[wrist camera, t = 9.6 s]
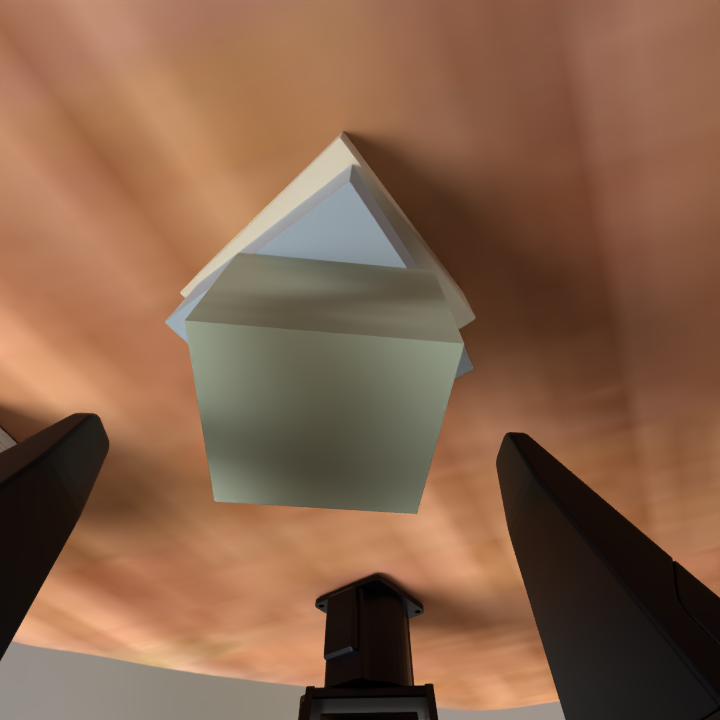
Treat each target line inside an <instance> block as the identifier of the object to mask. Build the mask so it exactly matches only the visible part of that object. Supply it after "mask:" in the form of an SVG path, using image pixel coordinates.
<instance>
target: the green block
mask: <svg viewBox="0 0 720 720" xmlns="http://www.w3.org/2000/svg"><path fill="white" fill-rule="evenodd" d="M184 321H185V327H186V333H187V339H188V345H189V351H190V357H191V363H192V369H193V375H194V381H195V387H196V393H197V399H198V405H199V411H200V417H201V423H202V429H203V435H204V441H205V447H206V453H207V459H208V465H209V471H210V477H211V483H212V489H213V496H214V502H229V503H245V504H262V505H278V506H295V507H311V508H328V509H344V510H361V511H378V512H394V513H411V514H417V512H418V508H419V505H420V501H421V497H422V494H423V490H424V487H425V483H426V480H427V476H428V472H429V469H430V465H431V462H432V458H433V454H434V451H435V447H436V444H437V440H438V436H439V433H440V429H441V426H442V422H443V419H444V415H445V411H446V408H447V404H448V401H449V397H450V393H451V390H452V386H453V383H454V379H455V375H456V372H457V368H458V365H459V361H460V357H461V354H462V350H463V347H464V342H463V339H462V337H461V334H460V332H459V330H458V327H457V325H456V322H455V320H454V318H453V315H452V313H451V311H450V308H449V306H448V303H447V301H446V299H445V296H444V294H443V291H442V289H441V287H440V284H439V282H438V279H437V277H436V275H435V272H434V271H433V270H422V269H411V268H400V267H389V266H378V265H367V264H357V263H346V262H335V261H324V260H313V259H302V258H291V257H280V256H270V255H259V254H248V253H237V254H236V255H235V257H234V258H233V259H232V260H231V262H230V263H229V264H228V265H227V267H226V268H225V269H224V271H223V272H222V273H221V274H220V276H219V277H218V278H217V280H216V281H215V282H214V283H213V285H212V286H211V287H210V288H209V290H208V291H207V292H206V294H205V295H204V296H203V297H202V299H201V300H200V301H199V303H198V304H197V305H196V306H195V308H194V309H193V310H192V311H191V313H190V314H189V315H188V317H187V318H186V319H185V320H184Z"/></svg>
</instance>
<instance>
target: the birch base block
mask: <svg viewBox="0 0 720 720" xmlns="http://www.w3.org/2000/svg"><path fill="white" fill-rule="evenodd" d="M351 164H352V165H353V166H354V168H355V170H356V171H357V173H358V174H359V176H360V177H361V179H362V180H363V182H364V184H365V185H366V187H367V188H368V190H369V191H370V193H371V194H372V196H373V197H374V199H375V201H376V202H377V204H378V205H379V207H380V208H381V210H382V211H383V213H384V215H385V216H386V218H387V219H388V221H389V222H390V224H391V225H392V227H393V229H394V230H395V232H396V233H397V235H398V236H399V238H400V239H401V241H402V243H403V244H404V246H405V247H406V249H407V250H408V252H409V253H410V255H411V257H412V258H413V260H414V261H415V263H416V264H417V266H418V267H419V269H422V270H433V271H434V272H435V275H436V277H437V279H438V282H439V284H440V287H441V289H442V291H443V294H444V296H445V299H446V301H447V303H448V306H449V308H450V311H451V313H452V315H453V318H454V320H455V322H456V325H457V327H458V330H459V329H460V328H462V327H464V326H465V325H467V324H468V323H470V322H471V321H473V320H474V319H476V317H475V315H474V313H473V311H472V309H471V307H470V305H469V303H468V301H467V299H466V297H465V295H464V293H463V291H462V290H461V289H460V287H459V286H458V285H457V283H456V282H455V281H454V279H453V278H452V277H451V275H450V274H449V273H448V271H447V270H446V269H445V267H444V266H443V265H442V263H441V262H440V261H439V259H438V258H437V257H436V255H435V254H434V253H433V251H432V250H431V248H430V247H429V246H428V244H427V243H426V242H425V240H424V239H423V238H422V236H421V235H420V234H419V232H418V231H417V230H416V228H415V227H414V226H413V224H412V223H411V222H410V220H409V219H408V218H407V216H406V215H405V214H404V212H403V211H402V210H401V208H400V207H399V206H398V204H397V203H396V202H395V200H394V199H393V197H392V196H391V195H390V193H389V192H388V191H387V189H386V188H385V187H384V185H383V184H382V183H381V181H380V180H379V179H378V177H377V176H376V175H375V173H374V172H373V171H372V169H371V168H370V167H369V165H368V164H367V163H366V161H365V160H364V159H363V157H362V156H361V155H360V153H359V152H358V151H357V149H356V148H355V146H354V145H353V144H352V142H351V141H350V140H349V138H348V137H347V136H346V134H345V133H344V132H342V133H341V134H340V135H339V136H338V137H337V138H336V139H335V140H334V141H333V142H332V143H331V144H330V145H329V146H328V147H327V148H326V149H325V150H323V151H322V152H321V153H320V154H319V155H318V156H317V157H316V158H315V159H314V160H313V161H312V162H311V163H310V164H309V165H308V166H307V167H306V168H305V169H304V170H303V171H302V172H301V173H300V174H299V175H298V176H297V177H296V178H295V179H294V180H293V181H292V182H291V183H290V184H289V185H288V186H287V187H286V188H285V189H284V190H283V191H282V192H280V193H279V194H278V195H277V196H276V197H275V198H274V199H273V200H272V201H271V202H270V203H269V204H268V205H267V206H266V207H265V208H264V209H263V210H262V211H261V212H260V213H259V214H258V215H257V216H256V217H255V218H254V219H253V220H252V221H251V222H250V223H249V224H248V225H247V226H246V227H245V228H244V229H243V230H242V231H241V232H240V233H239V234H237V235H236V236H235V237H234V238H233V239H232V240H231V241H230V242H229V243H228V244H227V245H226V246H225V247H224V248H223V249H222V250H221V251H220V252H219V253H218V254H217V255H216V256H215V257H214V258H213V259H212V260H211V261H210V262H209V263H208V264H207V265H206V266H205V267H204V268H203V269H202V270H201V271H200V272H199V273H198V274H197V275H196V276H195V277H194V278H193V279H192V280H191V281H190V283H189V284H188V285H187V286H186V287H185V288H184V289H183V290H182V291H181V292H180V293H181V294H182V295H183V296H184V297H185V298H186V297H187V296H188V295H189V294H190V293H191V291H192V290H193V289H194V288H195V287H196V286H197V285H198V284H199V283H200V282H201V281H202V280H204V279H205V278H206V277H208V276H209V275H210V274H211V273H213V272H214V271H215V270H217V269H218V268H219V267H220V266H222V265H223V264H224V263H226V262H227V261H228V260H229V259H231V258H232V257H233V256H235V255H236V254H237V253H238V252H240V251H241V250H242V249H244V248H245V247H246V246H247V245H249V244H250V243H251V242H253V241H254V240H255V239H256V238H258V237H259V236H260V235H262V234H263V233H264V232H265V231H267V230H268V229H269V228H271V227H272V226H273V225H274V224H276V223H277V222H278V221H279V220H281V219H282V218H283V217H285V216H286V215H287V214H288V213H290V212H291V211H292V210H294V209H295V208H296V207H297V206H299V205H300V204H301V203H303V202H304V201H305V200H306V199H308V198H309V197H310V196H312V195H313V194H314V193H315V192H317V191H318V190H319V189H321V188H322V187H323V186H324V185H326V184H327V183H328V182H330V181H331V180H332V179H333V178H335V177H336V176H337V175H339V174H340V173H341V172H342V171H344V170H345V169H346V168H348V167H349V166H350V165H351Z"/></svg>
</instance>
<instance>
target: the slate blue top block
mask: <svg viewBox="0 0 720 720" xmlns="http://www.w3.org/2000/svg"><path fill="white" fill-rule="evenodd" d="M238 253H248V254H259V255H270V256H280V257H291V258H302V259H313V260H324V261H335V262H346V263H357V264H367V265H378V266H389V267H400V268H411V269H419V267H418V266H417V264H416V263H415V261H414V260H413V258H412V257H411V255H410V253H409V252H408V250H407V249H406V247H405V246H404V244H403V243H402V241H401V239H400V238H399V236H398V235H397V233H396V232H395V230H394V229H393V227H392V225H391V224H390V222H389V221H388V219H387V218H386V216H385V215H384V213H383V211H382V210H381V208H380V207H379V205H378V204H377V202H376V201H375V199H374V197H373V196H372V194H371V193H370V191H369V190H368V188H367V187H366V185H365V184H364V182H363V180H362V179H361V177H360V176H359V174H358V173H357V171H356V170H355V168H354V166H353V165H352V164H351V165H350V166H349V167H348V168H346V169H345V170H344V171H342V172H341V173H340V174H339V175H337V176H336V177H335V178H333V179H332V180H331V181H330V182H328V183H327V184H326V185H324V186H323V187H322V188H321V189H319V190H318V191H317V192H315V193H314V194H313V195H312V196H310V197H309V198H308V199H306V200H305V201H304V202H303V203H301V204H300V205H299V206H297V207H296V208H295V209H294V210H292V211H291V212H290V213H288V214H287V215H286V216H285V217H283V218H282V219H281V220H279V221H278V222H277V223H276V224H274V225H273V226H272V227H271V228H269V229H268V230H267V231H265V232H264V233H263V234H262V235H260V236H259V237H258V238H256V239H255V240H254V241H253V242H251V243H250V244H249V245H247V246H246V247H245V248H244V249H242V250H241V251H240V252H238ZM234 257H235V256H233V257H232V258H231V259H229V260H228V261H227V262H226V263H224V264H223V265H222V266H220V267H219V268H218V269H217V270H215V271H214V272H213V273H211V274H210V275H209V276H208V277H206V278H205V279H204V280H202V281H201V282H200V283H199V284H198V285H197V286H196V287H195V288H194V289H193V290H192V291H191V293H190V294H189V295H188V296H187V297H186V298H185V300H184V301H183V302H182V303H181V304H180V305H179V306H178V308H177V309H176V310H175V311H174V312H173V313H172V314H171V316H170V317H169V318H168V319H167V320H166V321H165V323H166V324H167V325H168V326H169V327H170V328H172V329H173V330H174V331H175V332H176V333H177V334H178V335H179V336H180V337H181V338H182V339H184V340H185V341H186V342H187V343H188V339H187V333H186V327H185V321H184V320H185V319H186V318H187V317H188V315H189V314H190V313H191V311H192V310H193V309H194V308H195V306H196V305H197V304H198V303H199V301H200V300H201V299H202V297H203V296H204V295H205V294H206V292H207V291H208V290H209V288H210V287H211V286H212V285H213V283H214V282H215V281H216V280H217V278H218V277H219V276H220V274H221V273H222V272H223V271H224V269H225V268H226V267H227V265H228V264H229V263H230V262H231V260H232V259H233V258H234ZM473 369H474V368H473V366H472V364H471V361H470V359H469V356H468V354H467V351H466V349H465V346H464V347H463V350H462V354H461V357H460V361H459V365H458V368H457V372H456V375H455V378H457V377H459V376H461V375H463V374H465V373H467V372H469V371H471V370H473Z"/></svg>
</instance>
